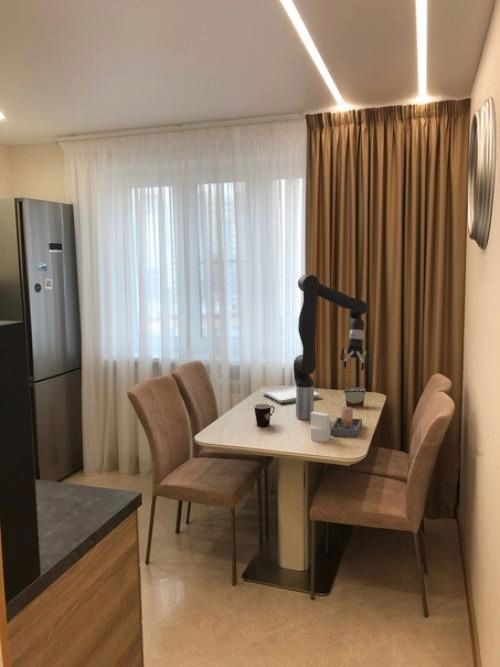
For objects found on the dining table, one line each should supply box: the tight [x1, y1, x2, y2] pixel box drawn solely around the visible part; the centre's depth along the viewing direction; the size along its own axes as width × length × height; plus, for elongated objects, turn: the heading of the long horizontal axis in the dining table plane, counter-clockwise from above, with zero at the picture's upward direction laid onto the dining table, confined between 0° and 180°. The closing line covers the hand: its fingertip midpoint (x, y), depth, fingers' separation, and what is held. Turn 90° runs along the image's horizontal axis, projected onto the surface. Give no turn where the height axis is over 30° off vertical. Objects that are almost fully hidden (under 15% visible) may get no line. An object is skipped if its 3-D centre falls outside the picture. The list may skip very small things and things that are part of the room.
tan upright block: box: [340, 406, 354, 429], centre depth 266 cm, size 5×5×10 cm
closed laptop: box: [260, 384, 321, 404], centre depth 333 cm, size 27×27×4 cm
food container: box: [343, 386, 367, 408], centre depth 309 cm, size 12×6×10 cm, turn 84°
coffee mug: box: [253, 403, 275, 428], centre depth 279 cm, size 12×9×10 cm
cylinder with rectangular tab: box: [309, 411, 331, 443], centre depth 256 cm, size 9×9×12 cm
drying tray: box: [330, 416, 363, 438], centre depth 266 cm, size 18×13×5 cm
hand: (353, 369), depth 286 cm, fingers open, 8 cm apart
